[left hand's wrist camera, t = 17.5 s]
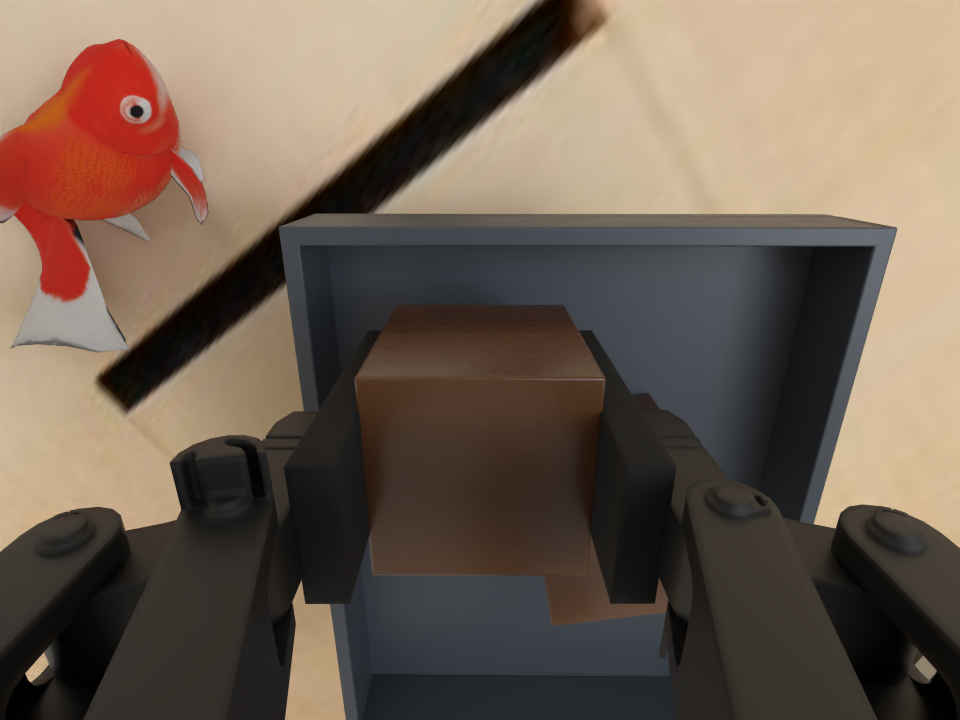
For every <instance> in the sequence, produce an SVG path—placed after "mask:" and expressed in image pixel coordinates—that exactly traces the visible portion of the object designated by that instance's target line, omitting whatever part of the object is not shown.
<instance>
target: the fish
mask: <svg viewBox="0 0 960 720" xmlns="http://www.w3.org/2000/svg"><path fill="white" fill-rule="evenodd" d="M172 177H173V178H174V180H175V181H176V182H177V183H178V184H179V186H180V187H181V188H182V189H183V190H184V191H185V192H186V193H187V195H188V196H189V198H190V201H191V203H192V206H193V210H194V213H195V216H196V219H197V221H198V222H199V223H200V224H201V225H202V223H203V222H204V221H205V219H206V217H207V215H208V203H207V201H206V194H205V190H204V186H203V184H202V183H201V181H203V179H204V175H203V171H202V168H201V164H200V161H199V159H198V157H197V155H196V154H195V153H194V152H192V151H190V150H186V149H184V148H182V147H181V136H180V129H179V121H178V118H177V116H176V113H175V110H174V107H173V105H172V102H171V99H170V96H169V94H168V91H167V89H166V87H165V84H164V82H163V80H162V78H161V76H160V74H159V73H158V71H157V69H156V68H155V66H154V65H153V64H152V63H151V62H150V61H149V59H148V58H147V57H146V56H145V55H144V54H143V53H142V52H141V51H140V50H138V49H137V48H136V47H135V46H133V45H132V44H130V43H128V42H126V41H124V40H121V39H118V40H114V41H111V42H108V43H105V44H97V45H92V46H89V47H87V48H86V49H85V50H84V51H82V52H81V53H80V54H79V56H78V57H77V58H76V59H75V60H74V62H73V63H72V64H71V66H70V67H69V69H68V71H67V73H66V75H65V78H64V80H63V83H62V87H61V89H60V90H59V91H58V92H57V93H56V94H55V95H54V96H53V97H51V98H50V99H49V100H47V101H46V102H45V103H44V104H43V105H42V106H40V107H39V108H38V109H37V110H36V111H35V112H34V113H33V114H31V115H30V116H29V118H28V119H27V121H26V122H25V124H24V125H23V126H22V125H21V126H19V127H17V128H15V129H13V130H11V131H9V132H7V133H6V134H4V135H3V136H1V137H0V223H4V222H6V221H7V220H8V219H9V218H11V217H12V216H13V215H15V216H16V217H17V218H18V219H19V221H20V222H21V223H22V224H23V225H24V226H25V227H26V228H27V230H28V231H29V233H30V234H31V236H32V238H33V239H34V241H35V243H36V245H37V248H38V250H39V253H40V256H41V261H42V274H41V277H40V280H39V283H38V286H37V289H36V292H35V295H34V297H33V300H32V303H31V306H30V308H29V310H28V312H27V314H26V316H25V318H24V320H23V322H22V325H21V327H20V330H19V332H18V335H17V337H16V339H15V341H14V343H13V345H12V347H11V348H13V347H15V346H19V345H33V344H43V345H58V346H69V347H74V348H79V349H84V350H88V351H93V352H104V351H114V350H124V349H129V348H128V346H127V343H126V340H125V338H124V336H123V334H122V333H121V331H120V329H119V328H118V326H117V324H116V323H115V321H114V319H113V318H112V316H111V314H110V313H109V311H108V309H107V306H106V303H105V300H104V298H103V295H102V292H101V289H100V286H99V284H98V281H97V278H96V275H95V273H94V270H93V267H92V265H91V262H90V259H89V256H88V254H87V251H86V248H85V245H84V243H83V240H82V237H81V234H80V232H79V229H78V227H77V225H76V223H75V221H74V219H75V220H101V219H102V220H104V221H106V222H108V223H110V224H113V225H115V226H117V227H119V228H122V229H124V230H126V231H128V232H130V233H132V234H134V235H136V236H138V237H140V238H142V239H144V240H145V241H150V240H151V239H150V238H149V236H148V235H147V233H146V232H145V230H144V229H143V227H142V226H141V224H140V223H139V222H138V221H137V219H136V218H135V217H134V216H133V215H132V214H131V213H132V212H133V211H135V210H137V209H139V208H141V207H143V206H145V205H147V204H149V203H150V202H152V201H153V200H155V199H156V198H157V197H158V196H159V195H160V193H161V192H162V191H163V189H164V188H165V187H166V186H167V184H168V183H169V182H170V180H171V178H172ZM11 348H10V349H11Z"/></svg>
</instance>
